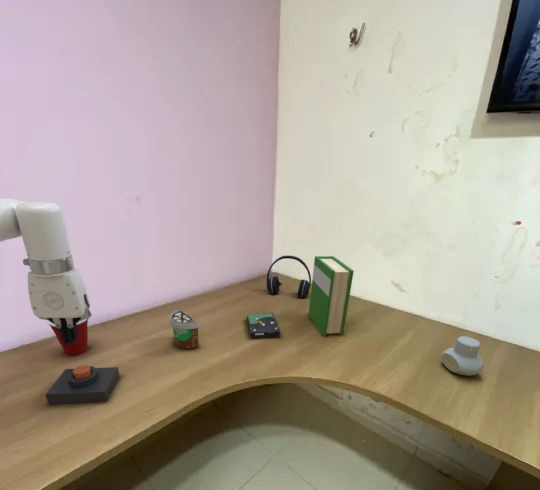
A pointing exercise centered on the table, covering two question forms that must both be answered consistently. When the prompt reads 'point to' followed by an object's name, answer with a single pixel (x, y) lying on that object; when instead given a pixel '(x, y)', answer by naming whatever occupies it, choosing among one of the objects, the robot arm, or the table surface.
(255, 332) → the disk drive
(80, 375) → the push button
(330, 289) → the hardback book
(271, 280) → the headphones
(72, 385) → the button base
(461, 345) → the air freshener
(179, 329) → the food container
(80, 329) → the plastic cup
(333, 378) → the table surface
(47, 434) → the table surface
